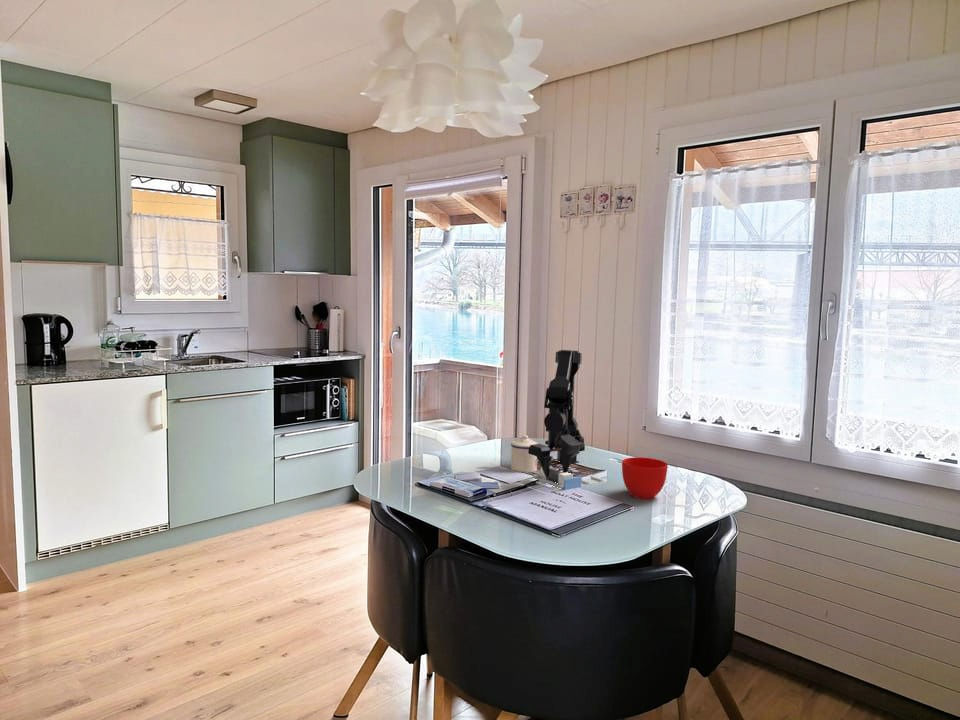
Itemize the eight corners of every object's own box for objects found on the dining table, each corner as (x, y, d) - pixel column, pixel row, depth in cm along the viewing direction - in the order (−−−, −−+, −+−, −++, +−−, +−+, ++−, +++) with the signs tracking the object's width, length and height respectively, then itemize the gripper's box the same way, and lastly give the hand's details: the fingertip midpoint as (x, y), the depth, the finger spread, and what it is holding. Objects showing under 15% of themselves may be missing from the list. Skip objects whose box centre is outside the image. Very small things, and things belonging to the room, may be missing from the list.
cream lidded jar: (542, 472, 223) (543, 437, 222) (516, 474, 220) (517, 439, 219) (527, 463, 234) (528, 430, 233) (503, 465, 231) (504, 431, 230)
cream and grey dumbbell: (540, 478, 214) (540, 467, 213) (548, 477, 216) (549, 466, 216) (563, 487, 205) (564, 475, 205) (572, 485, 207) (572, 474, 207)
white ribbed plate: (526, 480, 213) (526, 470, 212) (577, 471, 225) (578, 461, 225) (558, 492, 201) (558, 481, 200) (610, 482, 213) (611, 471, 213)
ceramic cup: (666, 488, 208) (667, 456, 207) (665, 504, 191) (667, 469, 190) (622, 484, 211) (624, 452, 210) (619, 499, 195) (620, 465, 194)
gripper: (552, 433, 197) (550, 485, 198) (598, 427, 208) (596, 477, 209) (528, 426, 206) (526, 476, 207) (573, 421, 217) (571, 469, 218)
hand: (556, 475), depth 210 cm, fingers open, 7 cm apart
